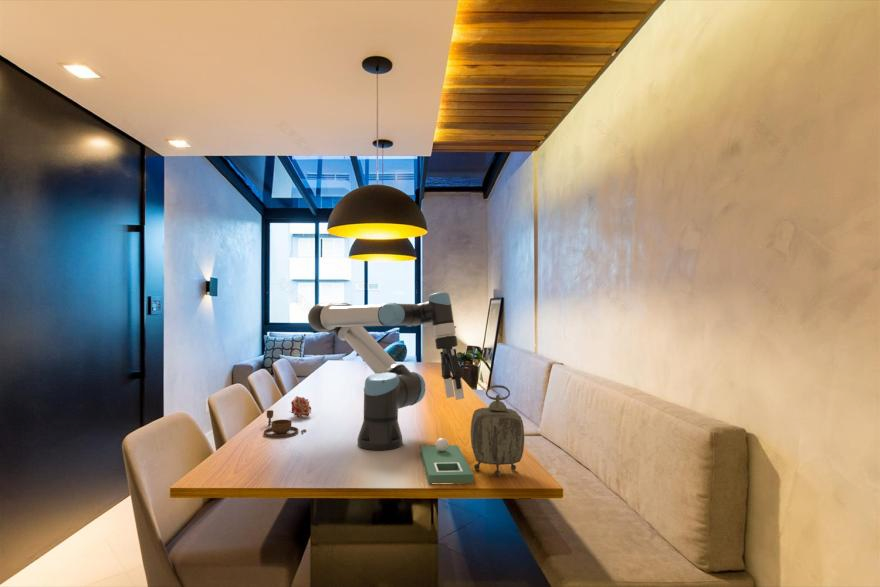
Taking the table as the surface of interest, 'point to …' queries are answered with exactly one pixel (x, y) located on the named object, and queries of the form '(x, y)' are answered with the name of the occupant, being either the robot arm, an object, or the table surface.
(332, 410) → the table surface
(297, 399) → the flower
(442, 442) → the ball
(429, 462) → the green slotted plate
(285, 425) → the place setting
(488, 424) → the tabletop clock
